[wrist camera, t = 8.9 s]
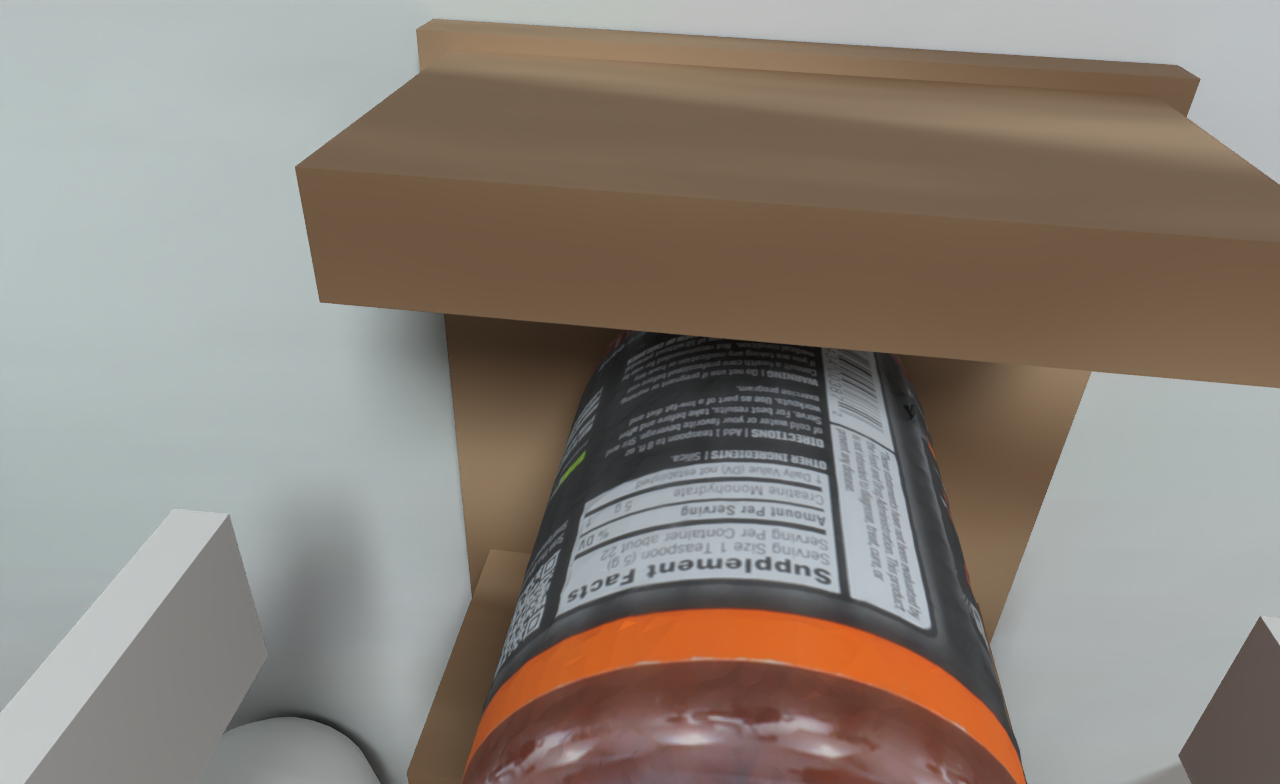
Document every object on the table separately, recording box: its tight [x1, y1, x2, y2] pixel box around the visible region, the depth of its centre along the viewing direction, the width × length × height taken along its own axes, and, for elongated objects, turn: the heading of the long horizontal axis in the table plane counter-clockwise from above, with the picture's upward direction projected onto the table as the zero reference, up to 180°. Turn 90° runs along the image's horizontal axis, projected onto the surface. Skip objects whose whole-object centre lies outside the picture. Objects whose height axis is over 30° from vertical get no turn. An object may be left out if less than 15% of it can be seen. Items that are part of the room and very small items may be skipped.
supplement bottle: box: [461, 330, 1026, 784], centre depth 11 cm, size 6×6×11 cm
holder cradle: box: [295, 19, 1280, 784], centre depth 14 cm, size 12×11×6 cm
